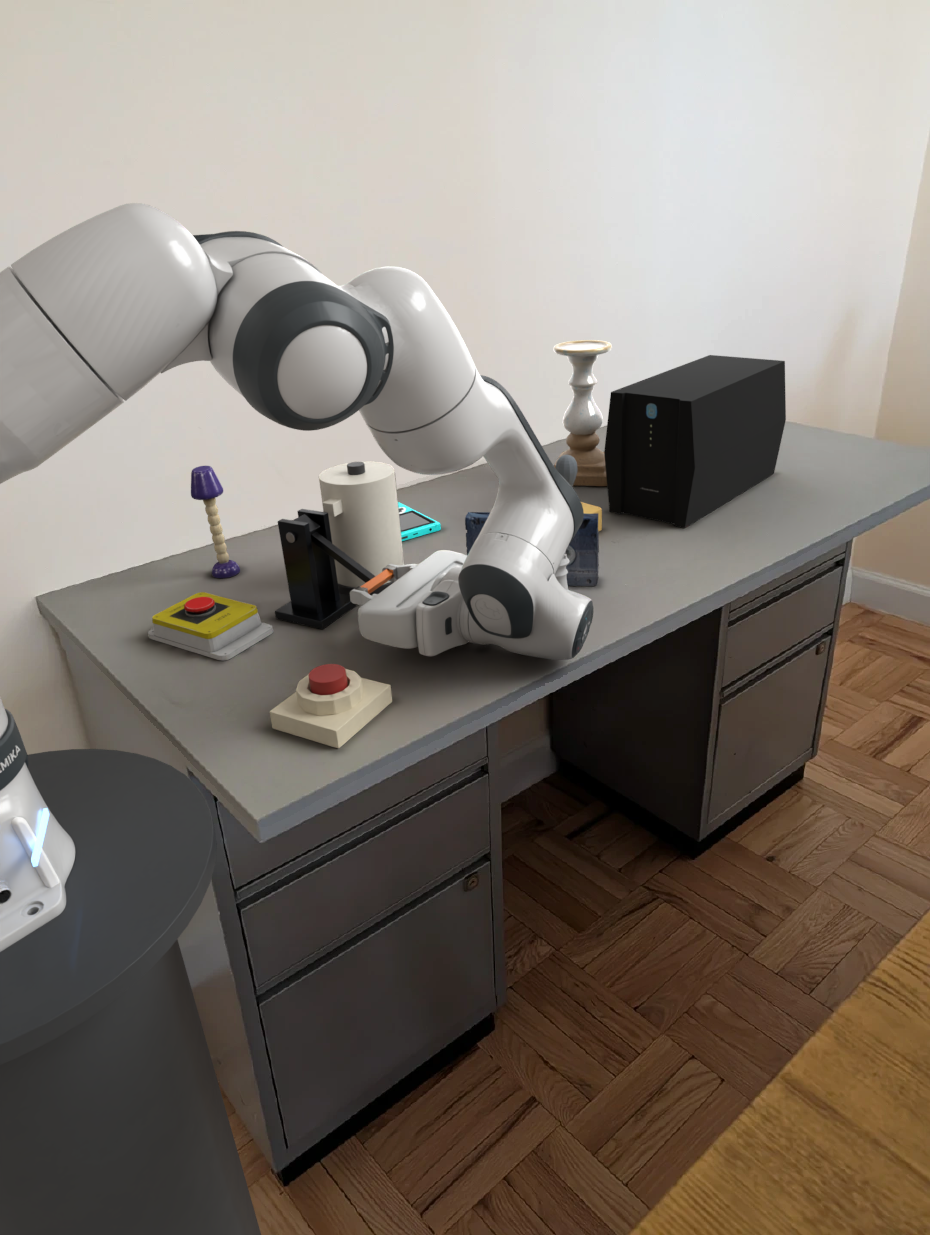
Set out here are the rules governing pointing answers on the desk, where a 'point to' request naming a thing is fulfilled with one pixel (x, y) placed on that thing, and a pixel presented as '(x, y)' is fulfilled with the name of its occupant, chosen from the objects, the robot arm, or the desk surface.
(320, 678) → the button
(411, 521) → the handheld game console
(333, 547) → the power lever
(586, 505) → the rubber stamp
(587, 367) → the candle holder
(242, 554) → the desk surface
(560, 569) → the rook chess piece
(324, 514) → the switch bracket
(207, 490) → the toy lamp
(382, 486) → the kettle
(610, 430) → the uninterruptible power supply
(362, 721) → the button block
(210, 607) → the emergency button
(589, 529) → the vhs cassette tape
